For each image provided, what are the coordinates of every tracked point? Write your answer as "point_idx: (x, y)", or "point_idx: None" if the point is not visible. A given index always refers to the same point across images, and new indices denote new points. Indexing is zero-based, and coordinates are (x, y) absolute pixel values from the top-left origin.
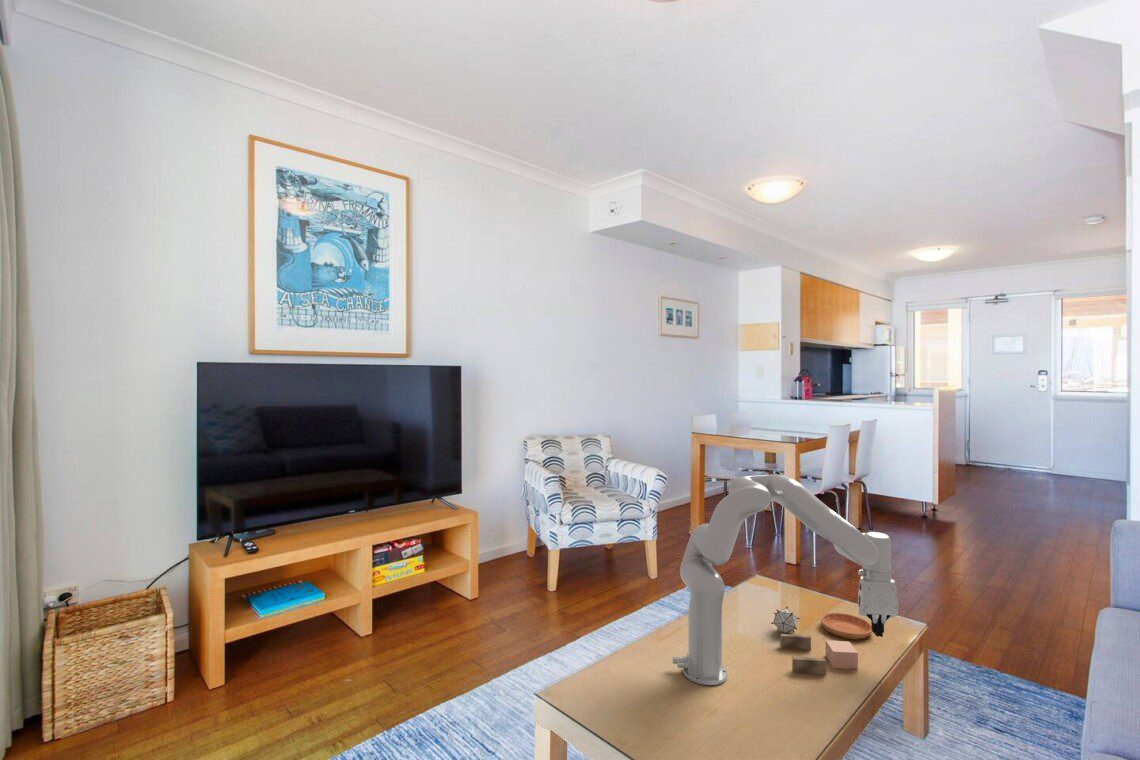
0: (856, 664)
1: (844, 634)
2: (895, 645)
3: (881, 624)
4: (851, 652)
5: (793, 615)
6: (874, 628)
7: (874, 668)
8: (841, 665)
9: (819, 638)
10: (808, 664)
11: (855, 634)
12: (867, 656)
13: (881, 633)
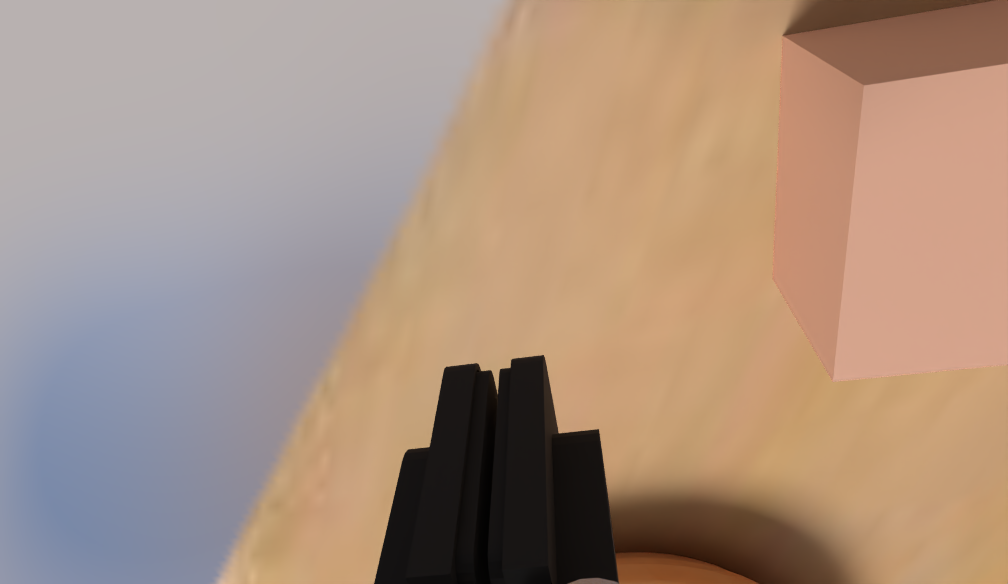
0: (817, 43)
1: (709, 574)
2: (321, 528)
3: (436, 563)
4: (971, 67)
5: None
6: (588, 483)
7: (582, 103)
8: (1003, 8)
9: (910, 520)
10: None
11: (621, 580)
12: (585, 328)
13: (461, 401)
